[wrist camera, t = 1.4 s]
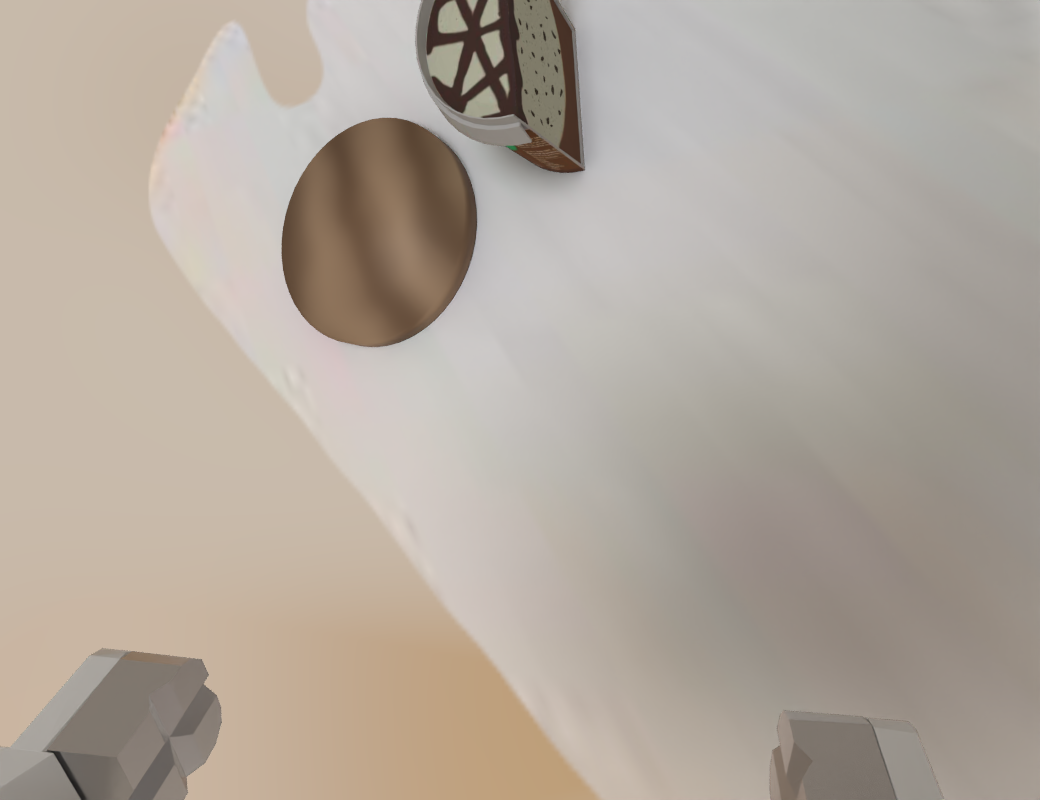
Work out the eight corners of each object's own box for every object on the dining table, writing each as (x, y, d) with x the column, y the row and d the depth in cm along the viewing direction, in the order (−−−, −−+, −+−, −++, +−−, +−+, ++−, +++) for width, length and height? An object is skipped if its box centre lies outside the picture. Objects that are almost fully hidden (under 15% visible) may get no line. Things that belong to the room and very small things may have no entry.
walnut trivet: (420, 81, 49) (407, 70, 48) (514, 264, 45) (502, 258, 43) (271, 214, 55) (255, 208, 53) (341, 387, 51) (326, 386, 49)
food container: (489, 38, 47) (401, -59, 38) (573, 7, 44) (500, -105, 35) (499, 214, 46) (410, 156, 37) (586, 193, 43) (513, 125, 34)
